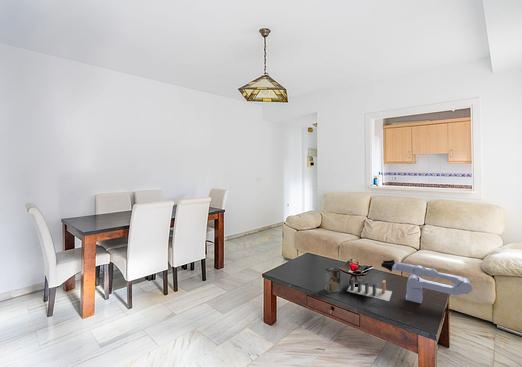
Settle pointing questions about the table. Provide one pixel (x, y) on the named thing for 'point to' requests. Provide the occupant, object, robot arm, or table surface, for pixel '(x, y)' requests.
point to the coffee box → (332, 280)
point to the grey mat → (370, 293)
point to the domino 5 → (383, 286)
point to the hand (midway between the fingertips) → (382, 263)
